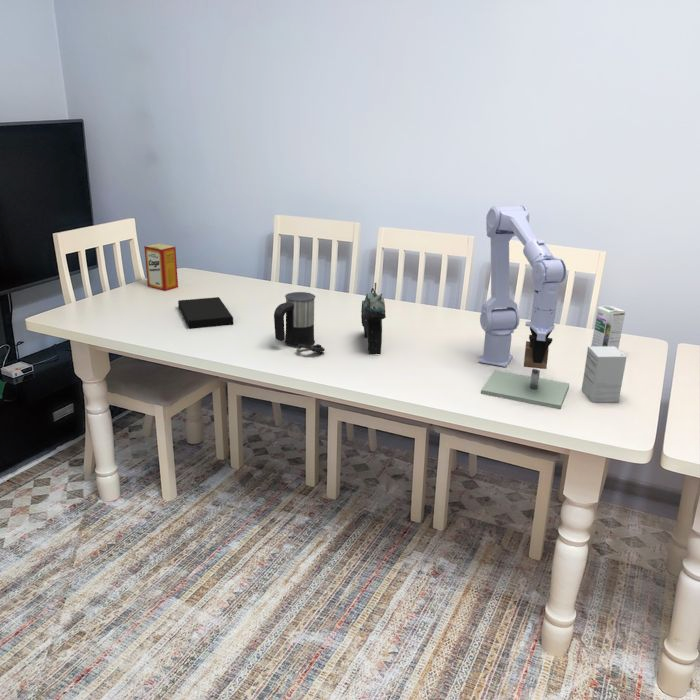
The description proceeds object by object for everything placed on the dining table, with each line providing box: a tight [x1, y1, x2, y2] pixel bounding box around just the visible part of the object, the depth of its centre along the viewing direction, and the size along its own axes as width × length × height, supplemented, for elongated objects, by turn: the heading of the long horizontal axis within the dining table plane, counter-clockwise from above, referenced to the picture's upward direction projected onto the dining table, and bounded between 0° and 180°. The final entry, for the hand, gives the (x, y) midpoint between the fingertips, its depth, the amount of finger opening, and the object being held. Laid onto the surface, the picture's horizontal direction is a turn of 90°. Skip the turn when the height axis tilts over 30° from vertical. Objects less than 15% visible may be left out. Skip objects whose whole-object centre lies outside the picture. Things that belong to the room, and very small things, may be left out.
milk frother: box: [273, 291, 325, 354], centre depth 203 cm, size 14×16×15 cm
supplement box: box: [581, 345, 627, 403], centre depth 175 cm, size 7×7×13 cm
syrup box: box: [591, 305, 626, 350], centre depth 203 cm, size 6×6×14 cm
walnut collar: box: [523, 340, 550, 370], centre depth 176 cm, size 6×6×5 cm
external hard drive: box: [177, 296, 234, 330], centre depth 230 cm, size 14×23×3 cm, turn 21°
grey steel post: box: [530, 368, 541, 390], centre depth 178 cm, size 2×2×5 cm
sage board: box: [480, 369, 570, 410], centre depth 180 cm, size 15×20×1 cm
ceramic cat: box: [360, 282, 387, 355], centre depth 205 cm, size 20×6×20 cm, turn 4°
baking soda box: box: [144, 242, 179, 292], centre depth 258 cm, size 10×6×16 cm
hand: (537, 358), depth 176 cm, fingers closed on walnut collar, 6 cm apart
